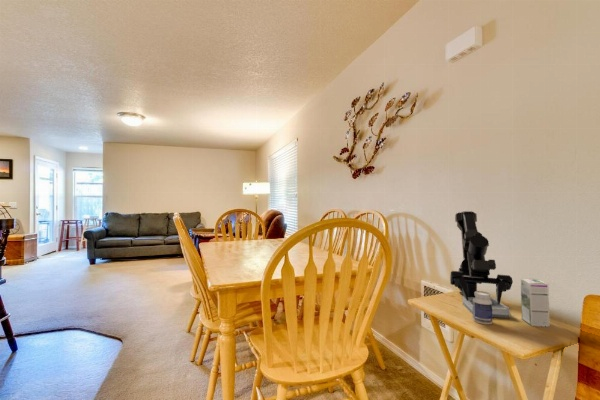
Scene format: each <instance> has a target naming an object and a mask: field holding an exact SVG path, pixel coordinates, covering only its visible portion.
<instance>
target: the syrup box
mask: <svg viewBox="0 0 600 400" xmlns="http://www.w3.org/2000/svg"><path fill="white" fill-rule="evenodd" d="M549 294H550V293H549V283H547V282H545V281H542V280H540V279H536V278H521V279H520V296H521V297H520V298H521V301H520V302H521V304H520V305H521V320H523V321H524V322H525V323H527V324H528V325H530V326H532V327H541V326H542V328H550V327H551V325H550V324H551V323H550V298H549V296H550V295H549ZM545 326H546V327H545Z"/></svg>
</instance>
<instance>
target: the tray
mask: <svg viewBox="0 0 600 400" xmlns="http://www.w3.org/2000/svg"><path fill="white" fill-rule="evenodd" d="M473 298H475V297H468V301H467V300H466V298H465V297H464V296H462V305H463V306H464V307H465V308H466V309H467V310H468V311H469V312H470V313H471V314H472V315H473ZM489 299H490V300H491V301H492V318H499V319H500V318H504V319H510V318H511V315H510V313H511V312H510V311H511V310H510V309H511V308H510V307H508V306H507V305H506V304H504V303H503V302H501V301H500V304H498V302H497V297H496V298H495V297H494V296H490V298H489Z"/></svg>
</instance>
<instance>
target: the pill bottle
mask: <svg viewBox="0 0 600 400" xmlns="http://www.w3.org/2000/svg"><path fill="white" fill-rule="evenodd" d="M474 295H475V298H473V314H472V320H473V321H474V322H475V323H478V324H481V325H491V324H493V317H492V301H491V300H490V299H489V298H491V293H489V292H486V291H481V290H477V291H475V292H474Z"/></svg>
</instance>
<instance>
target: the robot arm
mask: <svg viewBox="0 0 600 400" xmlns="http://www.w3.org/2000/svg"><path fill="white" fill-rule="evenodd" d="M477 215H478V214H477V213H476V212H474V211H472V210H471V211H469V210H466V211H461V212H458V213H457V212H456V214H455V217H454V218H455V219H454V221H455V223H456V227H457V228H458V229H459V230H460V231H461V233H460V234H461V246H462V259H463V260H462V261H461V263H460V266H459V268H458V270H452V271H450V277H449V279H450V280H449V281H450V282H449V283H450V285H452V286H454V287H456V288H457V289H459V292H458V293H459V294H460V295H461V296H462V297H463V296H464V297H465V298H466V300H467V301H468V297H475V295H474V292H475V291H478V284H479V285H481V284H493V285H495V293H496V295H495V296H496V299H497V302H498V304H500V302H501V301H502V300H501V298H502V295H503V292H507V291H509V290H511V289H512V285H513V283H514V281H513V278H512V277H511V275H506V274H497V275H496V278H495V277H489V276H490V275H491V274H490V271H491V270H493V271H495V270H496V269H497V265H496V260H495V259H488V260H486V257H485V255H486V254H487V250H488V247H490V243H489V239H488V238H487V237H485V236H484V235H483V234H482V233H481V232H479V230H478V228H477V224H476V223H477V222H478V218H477Z"/></svg>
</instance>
